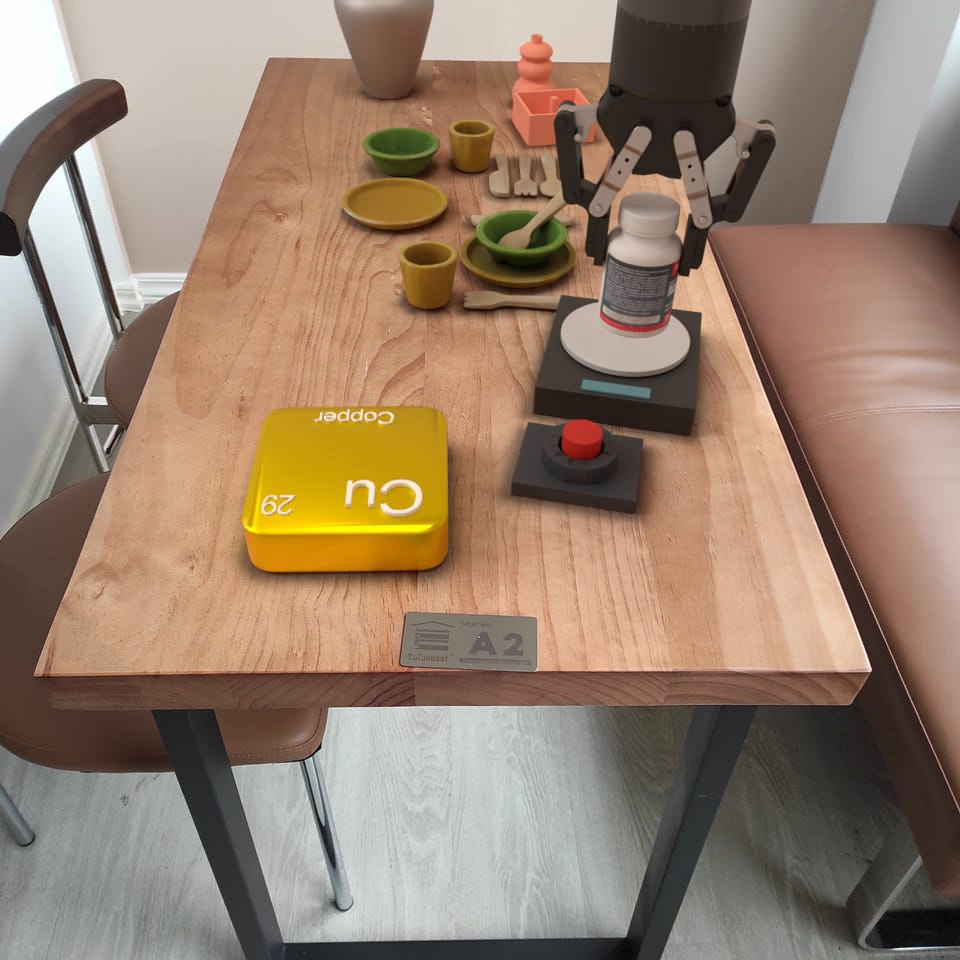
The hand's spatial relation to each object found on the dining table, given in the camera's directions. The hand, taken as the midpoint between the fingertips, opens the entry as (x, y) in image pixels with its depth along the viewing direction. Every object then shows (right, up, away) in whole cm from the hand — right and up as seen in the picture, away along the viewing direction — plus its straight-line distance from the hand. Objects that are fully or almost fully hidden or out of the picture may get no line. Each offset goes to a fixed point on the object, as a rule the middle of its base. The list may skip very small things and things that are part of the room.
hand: (641, 264), depth 64 cm
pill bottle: (0, -3, +3) cm, 5 cm away
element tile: (-21, -17, +10) cm, 29 cm away
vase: (-25, +45, +78) cm, 94 cm away
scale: (+2, -5, +24) cm, 25 cm away
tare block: (-3, -14, +14) cm, 20 cm away
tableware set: (-14, +16, +46) cm, 51 cm away
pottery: (-2, +38, +71) cm, 80 cm away
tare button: (-3, -12, +12) cm, 17 cm away
